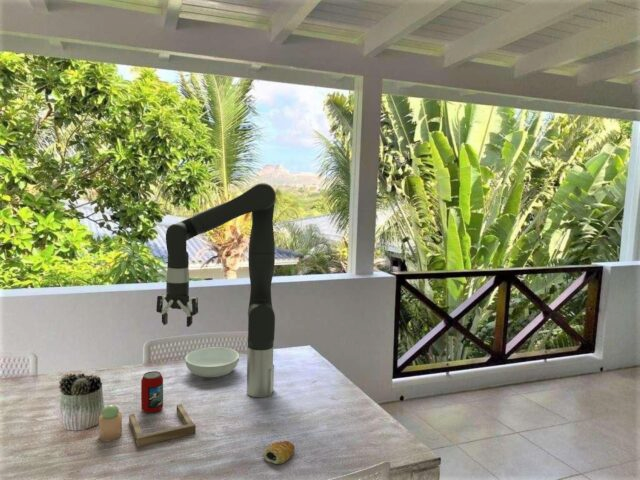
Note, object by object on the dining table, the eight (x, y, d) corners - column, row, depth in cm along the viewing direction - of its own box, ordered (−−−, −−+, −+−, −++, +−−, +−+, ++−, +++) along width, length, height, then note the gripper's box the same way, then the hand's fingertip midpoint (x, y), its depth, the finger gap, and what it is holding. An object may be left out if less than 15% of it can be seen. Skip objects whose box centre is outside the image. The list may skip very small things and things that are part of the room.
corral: (128, 422, 145) (128, 414, 144) (182, 411, 153) (182, 403, 153) (137, 447, 131) (137, 438, 131) (195, 433, 140) (195, 425, 140)
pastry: (281, 444, 136) (281, 432, 135) (300, 452, 132) (301, 439, 132) (260, 459, 128) (260, 446, 127) (280, 468, 124) (280, 455, 124)
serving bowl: (173, 374, 183) (173, 357, 182) (214, 359, 200) (214, 343, 199) (210, 388, 171) (210, 370, 170) (249, 371, 188) (250, 354, 187)
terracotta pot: (125, 430, 140) (125, 401, 139) (115, 441, 134) (115, 410, 133) (106, 429, 140) (105, 400, 139) (95, 440, 134) (94, 409, 133)
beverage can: (156, 415, 149) (156, 379, 148) (137, 412, 151) (136, 377, 149) (167, 406, 156) (167, 371, 155) (148, 403, 157) (148, 369, 156)
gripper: (153, 280, 159) (152, 326, 161) (193, 283, 158) (192, 330, 160) (162, 276, 167) (162, 320, 169) (201, 279, 166) (200, 323, 167)
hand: (177, 325), depth 164 cm, fingers open, 8 cm apart
